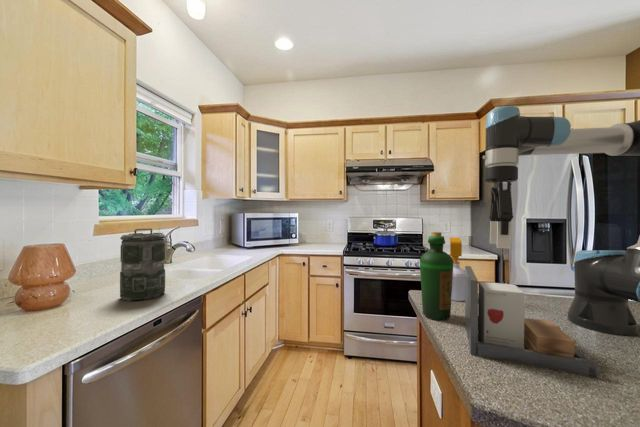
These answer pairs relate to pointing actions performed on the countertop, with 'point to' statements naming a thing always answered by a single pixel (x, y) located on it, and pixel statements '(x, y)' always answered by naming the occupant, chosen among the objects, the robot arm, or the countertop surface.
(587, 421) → the countertop surface
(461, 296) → the soap bottle
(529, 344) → the offcut lower
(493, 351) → the stand
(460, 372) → the countertop surface
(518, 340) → the supplement box
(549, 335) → the offcut upper
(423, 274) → the bottle
